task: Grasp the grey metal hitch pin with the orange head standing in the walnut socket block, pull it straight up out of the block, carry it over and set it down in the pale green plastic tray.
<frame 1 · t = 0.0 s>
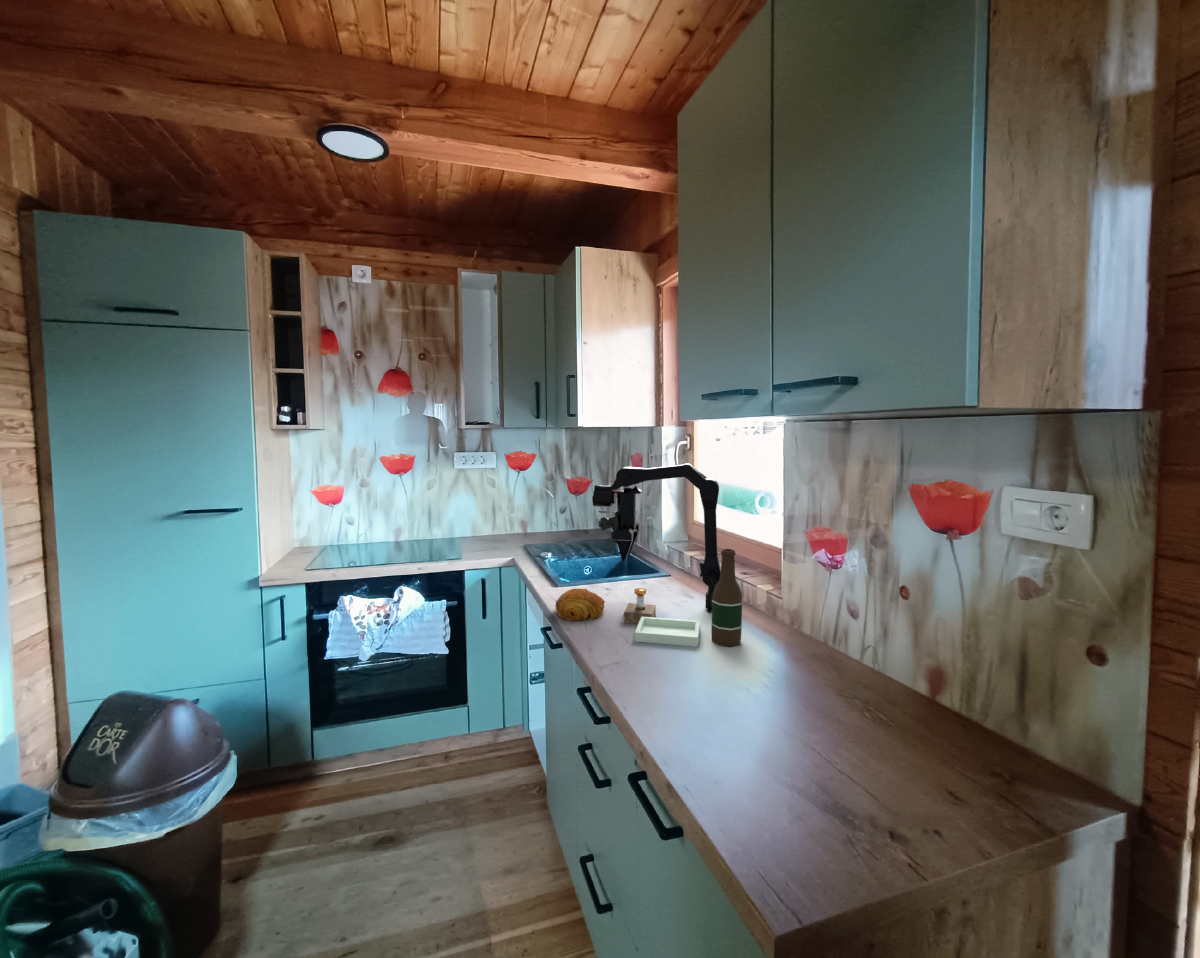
hand: (626, 557, 167), 15 cm above the counter, fingers open, 9 cm apart
tray: (668, 635, 142), on the counter
hitch pin: (640, 604, 154), in the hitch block
beer bottle: (726, 642, 138), on the counter
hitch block: (640, 618, 155), on the counter
croissant: (580, 614, 160), on the counter
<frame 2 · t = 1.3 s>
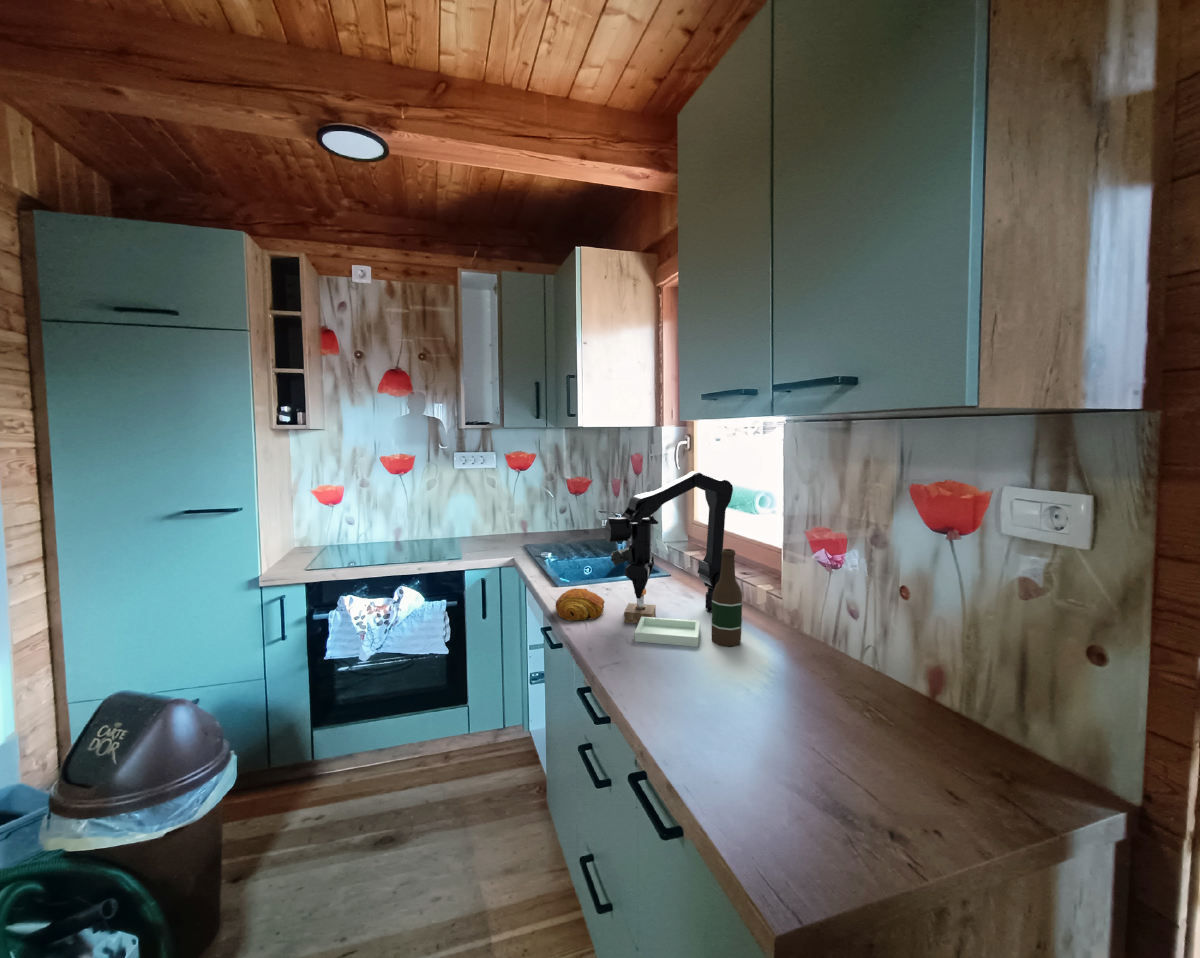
hand: (640, 593, 154), 7 cm above the counter, fingers open, 9 cm apart
nothing on the counter moved.
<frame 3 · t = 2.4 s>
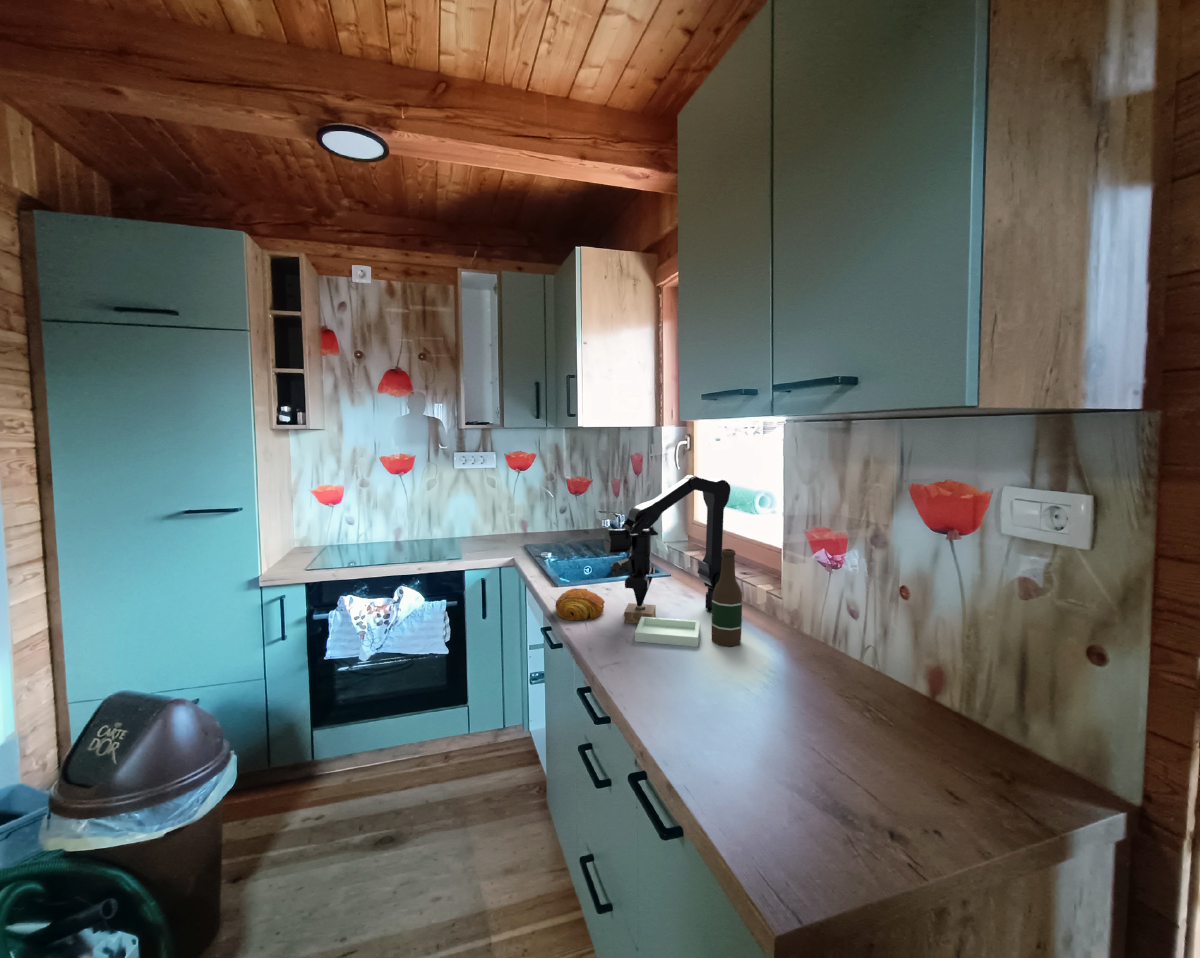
hand: (640, 604, 154), 4 cm above the counter, fingers closed on hitch pin, 3 cm apart
hitch pin: (640, 604, 154), in the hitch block, touching gripper
everything else where it was.
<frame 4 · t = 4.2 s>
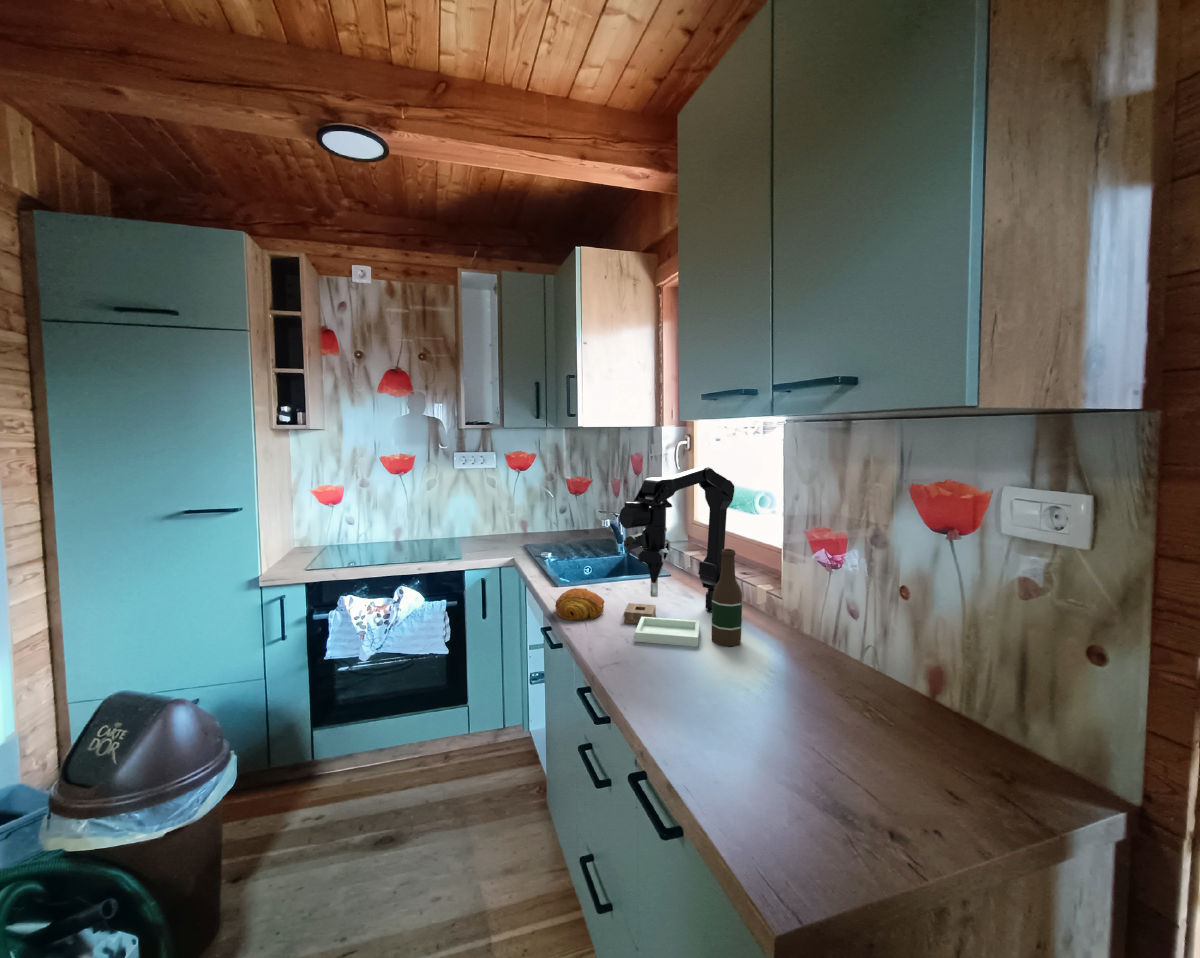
hand: (654, 581, 147), 13 cm above the counter, fingers closed on hitch pin, 3 cm apart
hitch pin: (654, 580, 147), point 13 cm above the counter, touching gripper
everything else where it was.
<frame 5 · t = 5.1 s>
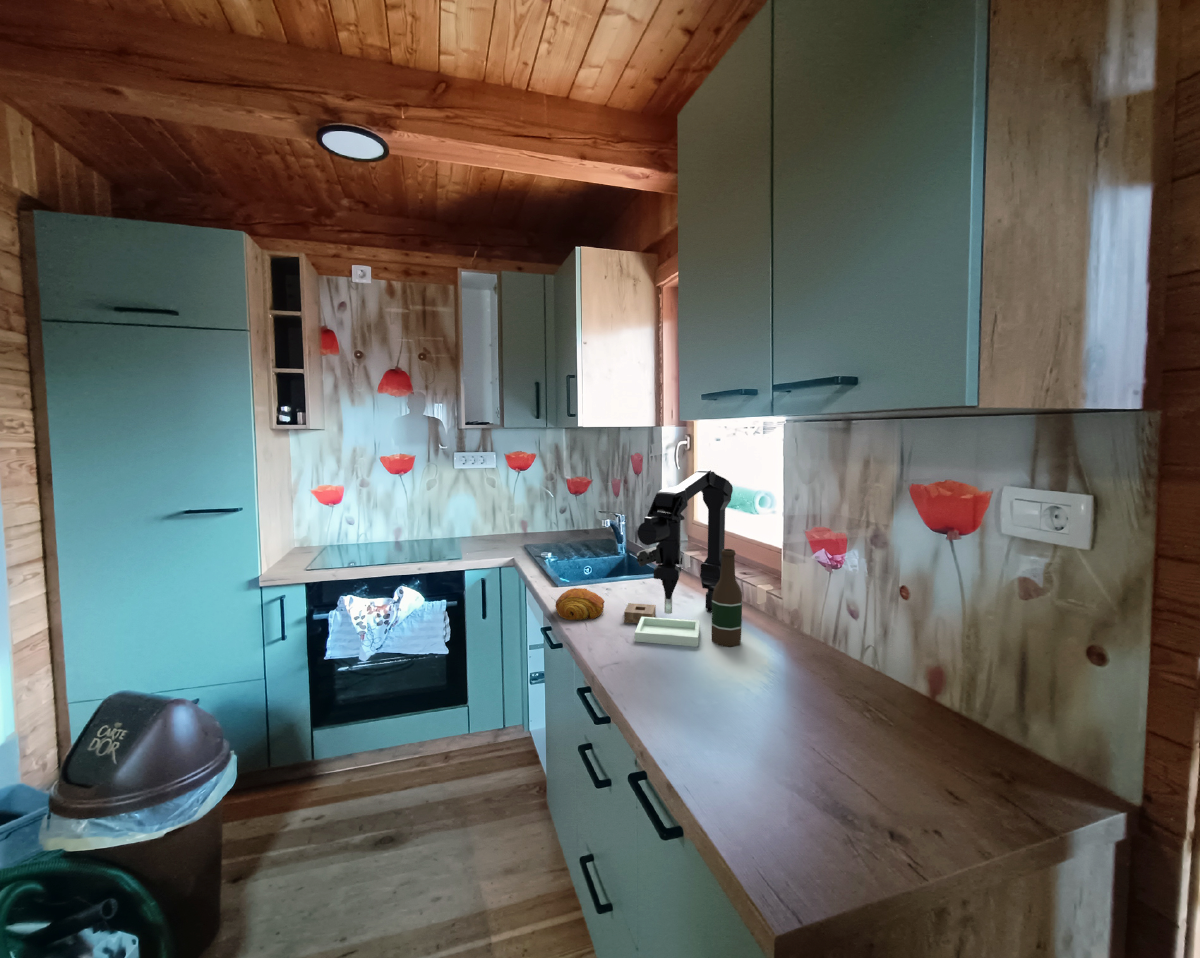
hand: (668, 597, 141), 10 cm above the counter, fingers closed on hitch pin, 3 cm apart
hitch pin: (668, 596, 141), point 10 cm above the counter, touching gripper
everything else where it was.
when the fingers open (6 cm above the counter, at t = 6.0 s): hitch pin drops 2 cm, resting on tray.
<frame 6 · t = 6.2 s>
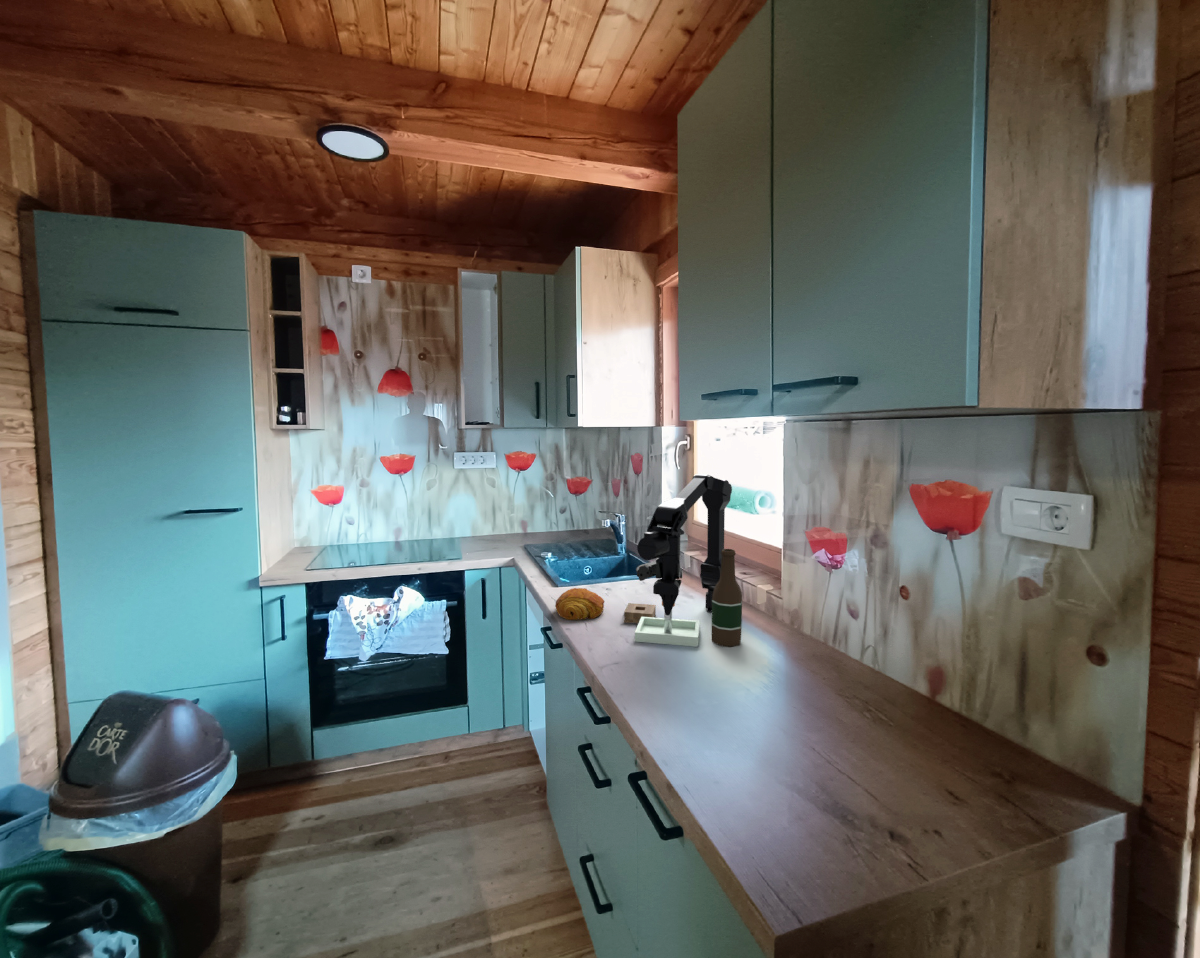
hand: (668, 611, 142), 6 cm above the counter, fingers open, 5 cm apart
hitch pin: (668, 617, 142), in the tray, point 5 cm above the counter
everything else where it was.
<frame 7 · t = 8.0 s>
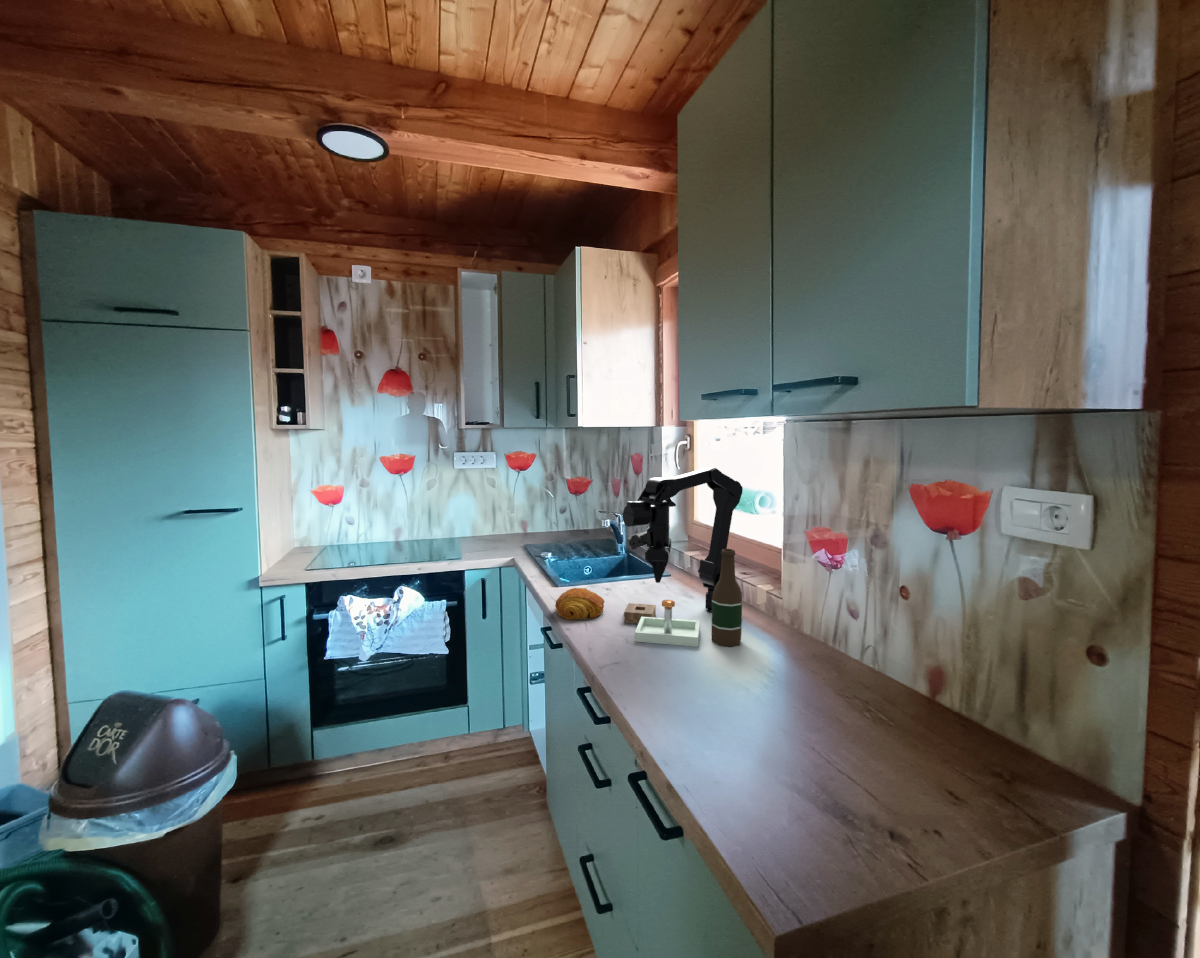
hand: (658, 577, 151), 13 cm above the counter, fingers open, 9 cm apart
nothing on the counter moved.
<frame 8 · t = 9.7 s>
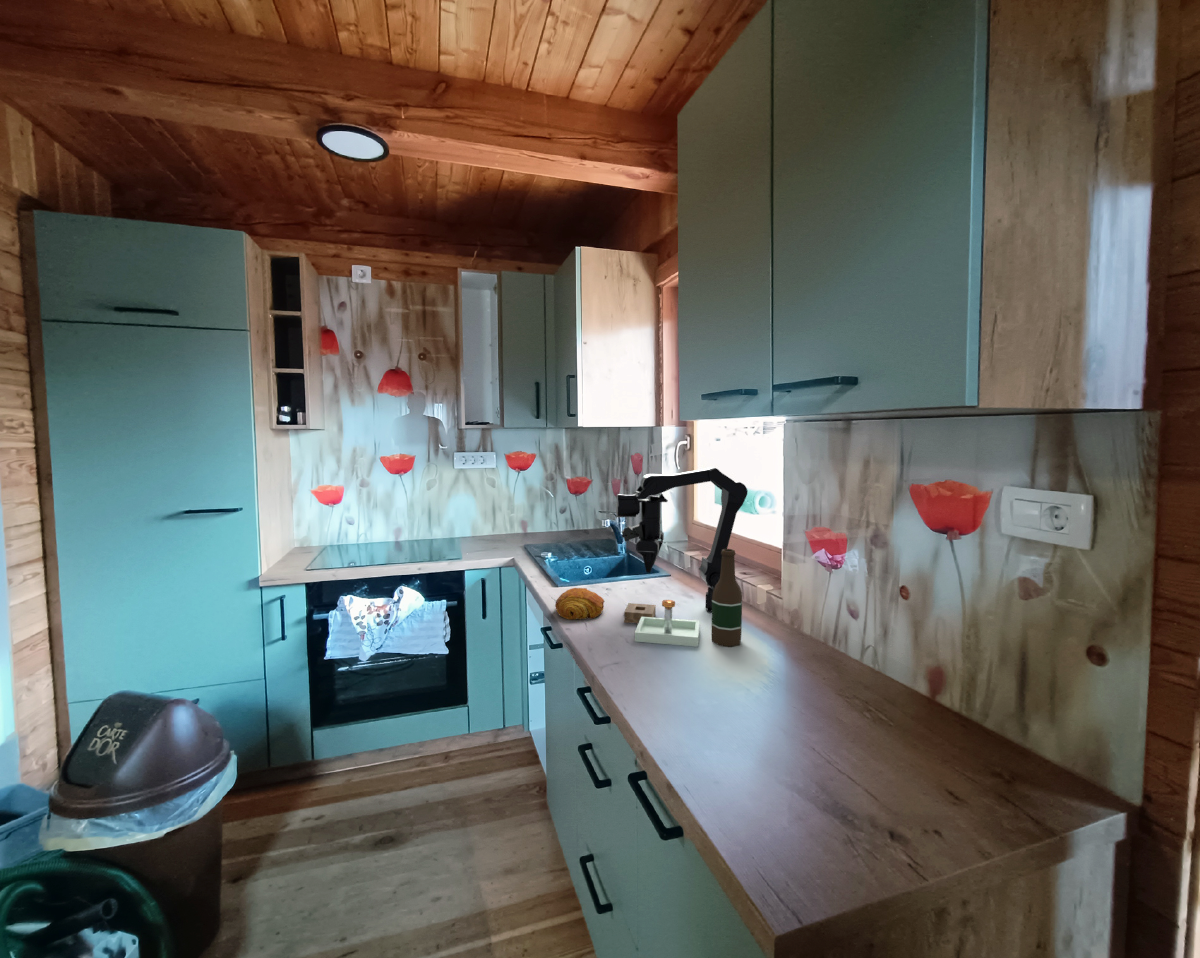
hand: (650, 568, 160), 13 cm above the counter, fingers open, 9 cm apart
nothing on the counter moved.
at the end: hitch pin inside the target area on the tray (0.0 cm from its centre), point 4.9 cm above the tray's base; hitch pin touching tray; the gripper is holding nothing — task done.
